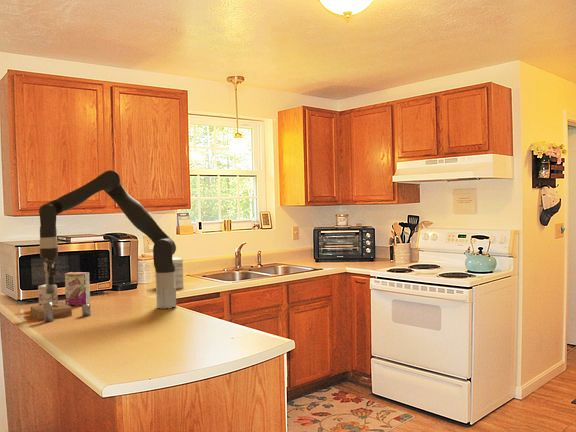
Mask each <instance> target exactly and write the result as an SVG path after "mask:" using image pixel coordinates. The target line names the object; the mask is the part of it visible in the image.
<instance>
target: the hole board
mask: <svg viewBox="0 0 576 432" xmlns="http://www.w3.org/2000/svg"><path fill="white" fill-rule="evenodd" d="M52 307H53V319H59V318H66V317H72V316H73V307H72V305H67V304H66V302H63V301H62V302H58V303H53V304H52ZM30 316H31V317H33V318H34V319H35V320H37V321H39V322H40V321H44V309H43V305H39V304H38V305H32V306H30Z"/></svg>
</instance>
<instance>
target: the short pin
mask: <svg viewBox="0 0 576 432" xmlns="http://www.w3.org/2000/svg"><path fill="white" fill-rule="evenodd" d="M81 312H82V313H81V315H82V317H84V318H85V317H90V316H92V310H91V303H90V304H84V305H81Z"/></svg>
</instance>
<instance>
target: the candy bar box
mask: <svg viewBox="0 0 576 432" xmlns="http://www.w3.org/2000/svg"><path fill="white" fill-rule="evenodd" d="M90 283H91V282H90V272H81V271H78V272H71V271H70V272H66V273H64V292H65V294H64V296H65V298H64V299H65V302H64V303H65V304H67V305H69V306H82V305H84V304H90V305H91V286H90Z"/></svg>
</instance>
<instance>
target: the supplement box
mask: <svg viewBox="0 0 576 432" xmlns="http://www.w3.org/2000/svg"><path fill="white" fill-rule="evenodd" d="M172 260H173V264H174V266H175V286H176V290H178V289H184V263H183V262H184V259H183V258H181V257H179V256H178V257H172Z"/></svg>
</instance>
